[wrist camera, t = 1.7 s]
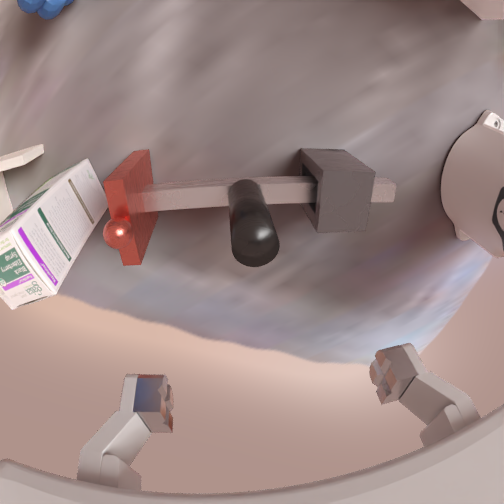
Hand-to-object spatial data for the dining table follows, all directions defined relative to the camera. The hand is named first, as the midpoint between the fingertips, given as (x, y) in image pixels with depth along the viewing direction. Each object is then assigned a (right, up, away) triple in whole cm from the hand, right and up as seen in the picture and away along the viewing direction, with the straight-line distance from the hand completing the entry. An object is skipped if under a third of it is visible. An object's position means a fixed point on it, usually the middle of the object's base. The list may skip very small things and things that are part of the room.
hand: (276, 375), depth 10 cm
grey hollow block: (+6, +12, +19) cm, 23 cm away
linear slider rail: (0, +12, +18) cm, 21 cm away
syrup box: (-19, +11, +17) cm, 28 cm away
